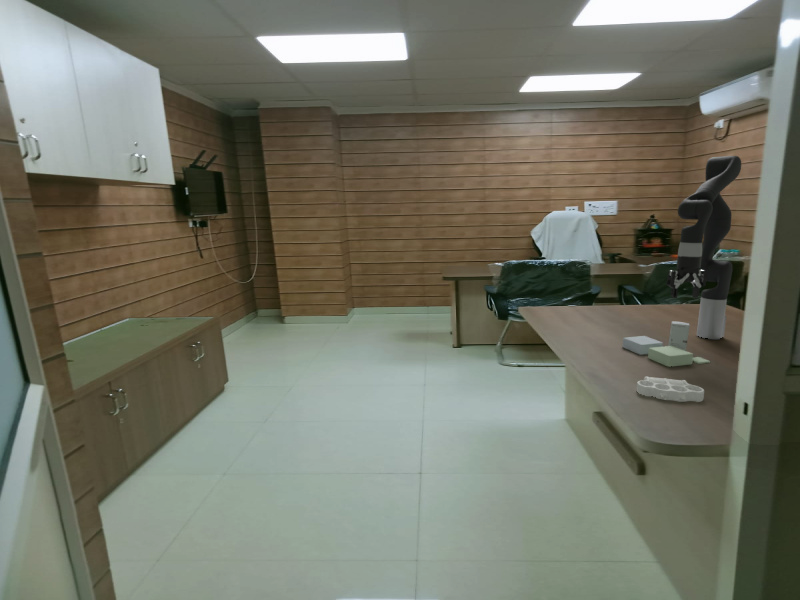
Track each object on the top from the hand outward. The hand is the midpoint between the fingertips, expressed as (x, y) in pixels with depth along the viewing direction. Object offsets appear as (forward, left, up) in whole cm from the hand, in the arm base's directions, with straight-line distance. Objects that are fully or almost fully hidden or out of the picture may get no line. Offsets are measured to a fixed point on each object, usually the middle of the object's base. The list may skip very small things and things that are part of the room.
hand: (684, 297), depth 175 cm
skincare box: (0, -1, -22) cm, 22 cm away
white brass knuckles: (+33, +30, -23) cm, 50 cm away
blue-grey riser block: (+10, -8, -22) cm, 25 cm away
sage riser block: (+10, +6, -22) cm, 25 cm away
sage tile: (0, +9, -22) cm, 24 cm away
